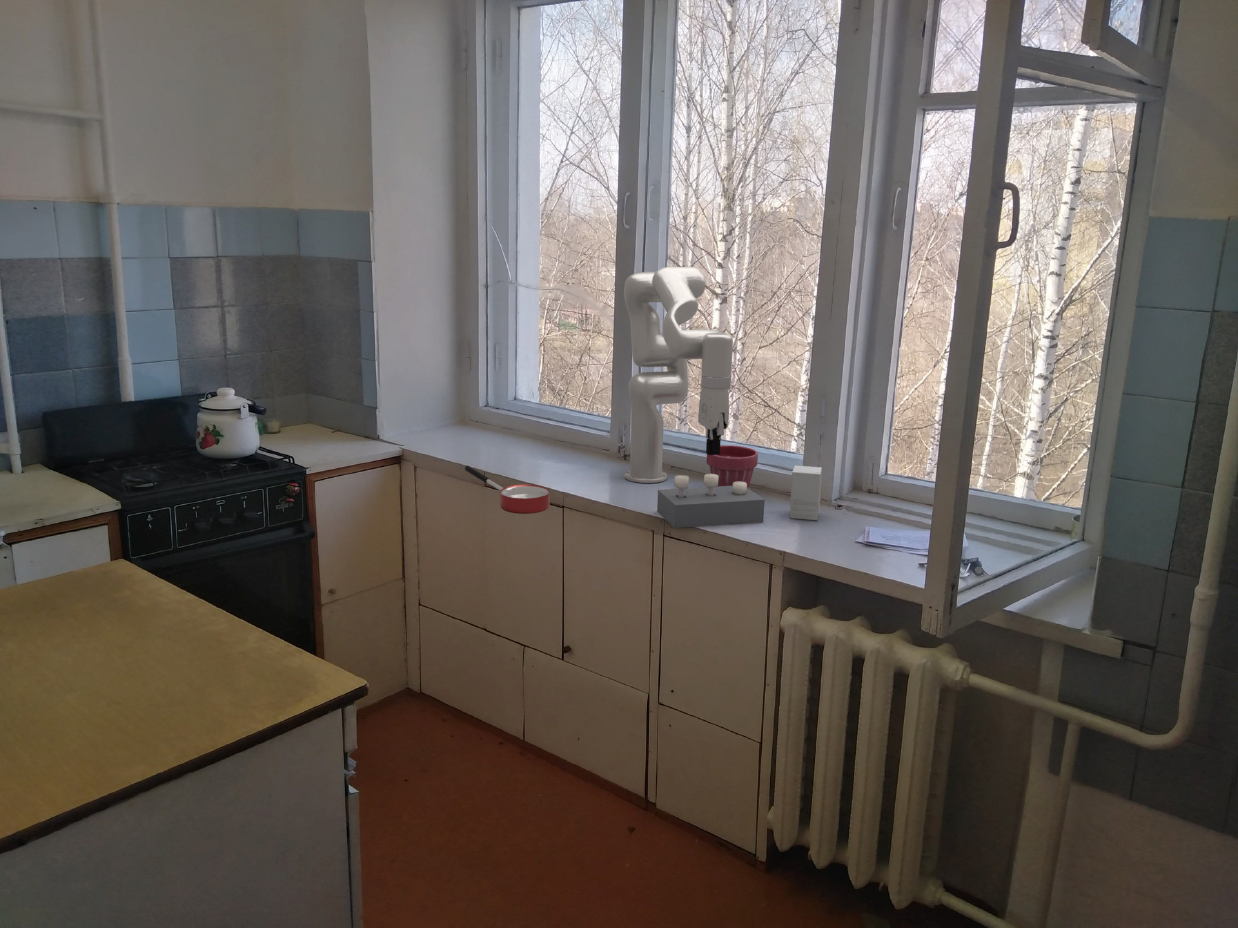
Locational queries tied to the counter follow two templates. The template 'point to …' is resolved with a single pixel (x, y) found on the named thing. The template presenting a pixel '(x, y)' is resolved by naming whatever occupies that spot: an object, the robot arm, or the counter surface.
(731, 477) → the plant pot
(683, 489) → the knob
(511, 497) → the red saucepan
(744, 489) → the knob
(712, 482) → the knob
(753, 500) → the control box
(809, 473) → the supplement box
